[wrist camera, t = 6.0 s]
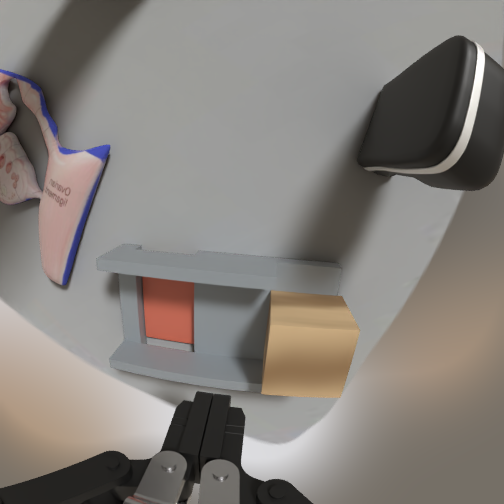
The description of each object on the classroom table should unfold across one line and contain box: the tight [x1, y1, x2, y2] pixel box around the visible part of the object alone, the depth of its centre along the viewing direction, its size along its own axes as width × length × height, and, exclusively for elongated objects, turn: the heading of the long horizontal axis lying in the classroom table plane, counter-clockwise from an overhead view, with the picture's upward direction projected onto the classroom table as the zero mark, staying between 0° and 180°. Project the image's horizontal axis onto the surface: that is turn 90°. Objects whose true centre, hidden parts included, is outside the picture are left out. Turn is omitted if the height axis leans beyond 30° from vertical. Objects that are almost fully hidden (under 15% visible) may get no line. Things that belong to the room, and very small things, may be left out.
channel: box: [96, 244, 342, 393], centre depth 21 cm, size 9×16×4 cm, turn 86°
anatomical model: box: [0, 69, 110, 285], centre depth 20 cm, size 20×3×15 cm
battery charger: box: [357, 36, 504, 191], centre depth 13 cm, size 7×4×11 cm, turn 159°
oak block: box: [261, 290, 360, 398], centre depth 19 cm, size 5×5×5 cm
